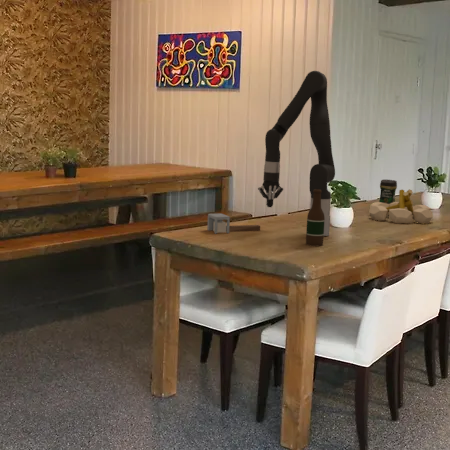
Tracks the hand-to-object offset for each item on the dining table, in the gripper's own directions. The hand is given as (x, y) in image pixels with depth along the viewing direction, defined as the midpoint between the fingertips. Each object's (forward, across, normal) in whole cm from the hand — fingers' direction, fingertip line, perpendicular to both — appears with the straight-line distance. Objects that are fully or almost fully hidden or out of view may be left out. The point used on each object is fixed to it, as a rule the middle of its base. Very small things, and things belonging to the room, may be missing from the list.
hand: (269, 207), depth 327 cm
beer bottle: (+10, +4, -38) cm, 39 cm away
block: (+11, -26, -1) cm, 28 cm away
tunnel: (+11, -26, -1) cm, 29 cm away
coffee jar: (+11, +98, +41) cm, 107 cm away
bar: (+11, -14, -1) cm, 18 cm away
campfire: (+11, +87, +14) cm, 89 cm away
